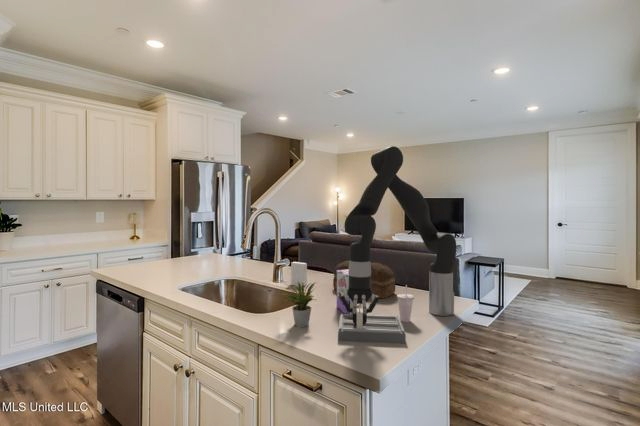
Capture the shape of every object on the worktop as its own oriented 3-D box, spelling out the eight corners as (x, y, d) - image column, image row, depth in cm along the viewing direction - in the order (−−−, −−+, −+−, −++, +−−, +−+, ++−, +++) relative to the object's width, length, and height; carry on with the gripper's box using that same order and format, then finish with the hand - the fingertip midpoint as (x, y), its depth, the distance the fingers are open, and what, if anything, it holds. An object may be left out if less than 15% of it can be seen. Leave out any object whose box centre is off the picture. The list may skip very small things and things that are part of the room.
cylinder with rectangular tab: (310, 283, 195) (310, 262, 194) (300, 287, 187) (301, 264, 187) (297, 281, 199) (297, 260, 199) (287, 285, 192) (287, 263, 191)
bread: (385, 300, 164) (385, 266, 163) (329, 289, 183) (329, 259, 182) (398, 293, 175) (398, 262, 175) (344, 284, 194) (345, 256, 194)
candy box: (335, 307, 152) (336, 269, 152) (348, 305, 154) (348, 268, 154) (348, 317, 139) (349, 276, 139) (362, 315, 141) (362, 275, 141)
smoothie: (401, 324, 132) (402, 287, 131) (393, 318, 138) (394, 283, 137) (416, 322, 133) (417, 286, 133) (408, 317, 140) (408, 282, 139)
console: (399, 325, 130) (399, 315, 130) (405, 343, 114) (405, 331, 114) (339, 323, 132) (340, 313, 132) (338, 340, 116) (338, 329, 116)
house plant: (302, 314, 142) (302, 274, 142) (328, 322, 134) (329, 279, 133) (276, 324, 131) (276, 280, 131) (303, 332, 123) (303, 286, 122)
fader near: (362, 324, 122) (362, 307, 121) (362, 328, 117) (362, 311, 117) (356, 323, 122) (356, 307, 121) (356, 328, 117) (356, 311, 117)
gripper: (379, 271, 122) (379, 321, 122) (339, 271, 123) (339, 319, 124) (381, 276, 114) (380, 328, 115) (338, 275, 116) (338, 327, 116)
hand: (359, 323), depth 119 cm, fingers closed on fader near, 2 cm apart
